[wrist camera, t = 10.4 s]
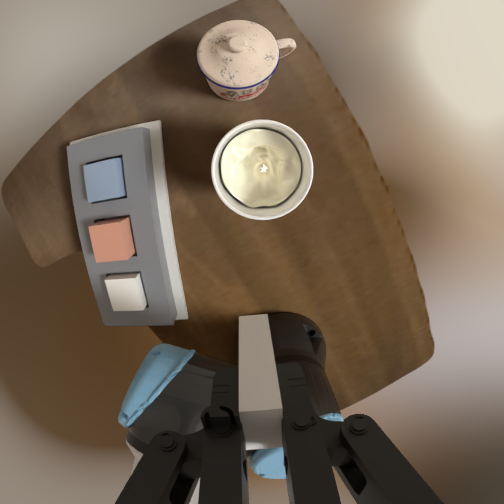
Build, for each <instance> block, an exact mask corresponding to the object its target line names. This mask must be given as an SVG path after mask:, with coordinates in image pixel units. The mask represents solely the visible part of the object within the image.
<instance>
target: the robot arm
mask: <svg viewBox="0 0 504 504" xmlns="http://www.w3.org/2000/svg"><path fill="white" fill-rule="evenodd" d="M236 358H237V364H238V365H236V364H233V363H229V362H226V361H222V360H219V359H216V358H212V357H209V356H206V355H203V354H200V353H196V350H193V349H191V350H188V349H184V348H181V347H177V346H174V345H170V344H166V343H162V344H158V345H156V346H154V347H153V348H152V349H151V350H150V351H149V353H148V354H147V355H146V357H145V359H144V361H143V362H142V364H141V366H140V368H139V369H138V371H137V373H136V375H135V377H134V379H133V381H132V383H131V386H130V388H129V390H128V392H127V394H126V397H125V399H124V401H123V404H122V408H121V411H120V414H119V416H118V421H119V423H120V424H121V425H123V427H125V428H129V431H128V435H127V439H126V443H127V445H128V447H129V448H130V450H131V451H132V453H133V454H134V456H135V461H134V465H133V469H132V473H131V476H130V478H129V480H128V482H127V483H126V485H125V487H124V489H123V490H122V492H121V494H120V496H119V497H118V499H117V501H116V503H115V504H249V492H248V467H247V459H250V466H251V467H252V470H253V472H255V473H256V474H258V475H259V476H262V477H264V478H271V479H282V478H286V480H287V487H288V496H289V503H290V504H341V502H340V497H339V493H338V490H337V485H336V481H335V477H334V474H333V470H332V466H334V468H335V469H336V471H337V473H338V474H339V476H340V477H341V479H342V481H343V482H344V484H345V485H346V487H347V488H348V490H349V491H350V493H351V495H352V496H353V498H354V499H355V501H356V503H357V504H444V503H443V502H442V501H441V500H440V499H439V498H438V496H437V495H436V494H435V493H434V492H433V491H432V489H431V488H430V487H429V486H428V484H427V483H426V482H425V481H424V480H423V479H422V477H421V476H420V475H419V474H418V473H417V471H416V470H415V469H414V468H413V467H412V465H411V464H410V463H409V462H408V461H407V459H406V458H405V457H404V456H403V455H402V454H401V452H400V451H399V450H398V449H397V448H396V446H395V445H394V444H393V443H392V442H391V440H390V439H389V438H388V437H387V436H386V434H385V433H384V432H383V431H382V430H381V428H380V427H379V426H378V425H377V423H376V422H375V421H374V420H373V419H372V418H371V417H369V416H367V415H364V414H354V415H350V416H349V417H347V418H346V419H344V421H343V417H342V415H341V413H340V410H339V407H338V405H337V402H336V399H335V397H334V394H333V392H332V389H331V386H330V384H329V381H328V379H327V376H326V373H325V371H324V369H325V360H326V343H325V340H324V337H323V335H322V332H321V330H320V329H319V327H318V326H317V325H316V324H315V323H314V322H313V321H312V320H310V319H309V318H307V317H305V316H302V315H299V314H295V313H275V314H271V315H267V314H260V315H248V316H239V340H238V343H237V350H236Z"/></svg>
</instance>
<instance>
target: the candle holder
mask: <svg viewBox="0 0 504 504" xmlns="http://www.w3.org/2000/svg"><path fill="white" fill-rule="evenodd" d="M211 176H212V181H213V185H214V188H215V190H216V192H217V194H218V196H219V197H220V199H221V200H222V201H223V202H224V204H225V205H226V206H227V207H229V208H230V209H231V210H232V211H234V212H236V213H237V214H239V215H241V216H244V217H247V218H250V219H256V220H269V219H274V218H278V217H281V216H283V215H285V214H287V213H289V212H291V211H292V210H293V209H295V208H296V207H297V206H298V205H299V204H300V203H301V202H302V201H303V199H304V198H305V196H306V195H307V193H308V191H309V189H310V186H311V183H312V178H313V161H312V157H311V154H310V151H309V149H308V147H307V145H306V143H305V142H304V140H303V139H302V138H301V137H300V136H299V135H298V134H297V133H296V132H295V131H294V130H292V129H291V128H290V127H288V126H286V125H284V124H282V123H279V122H276V121H272V120H252V121H248V122H245V123H242V124H240V125H238V126H236V127H234V128H233V129H232V130H230V131H229V132H228V133H227V134H226V135H225V136H224V137H223V138H222V139H221V141H220V142H219V144H218V145H217V147H216V149H215V152H214V154H213V158H212V163H211Z"/></svg>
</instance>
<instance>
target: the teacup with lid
mask: <svg viewBox="0 0 504 504" xmlns="http://www.w3.org/2000/svg"><path fill="white" fill-rule="evenodd" d="M295 48H296V43H295V41H294V40H293V39H290V38H284V39H279V40H276V39H275V38H274V36H273V35H272V34H271V33H270V32H269V31H268V30H267V29H266V28H264V27H263V26H261V25H259V24H257V23H254V22H251V21H246V20H232V21H227V22H223V23H221V24H218V25H216V26H215V27H213V28H212V29H210V30H209V31H208V32H207V33H206V34H205V35H204V36H203V38H202V39H201V41H200V43H199V45H198V48H197V53H196V59H197V64H198V67H199V69H200V71H201V72H202V74H203V75H204V76H205V77H206V79H207V82H208V84H209V86H210V87H211V89H212V90H213V91H214V92H215V93H216V94H217V95H218V96H220V97H222V98H224V99H226V100H230V101H246V100H250V99H252V98H254V97H256V96H258V95H259V94H260V93H262V92H263V91H264V89H265V88H266V87H267V85H268V83H269V80H270V78H271V75H272V74H273V73H274V71H275V70H276V68H277V65H278V63H279V59H280V58H282V57H284V56H286V55H288V54H290V53H291V52H292V51H293V50H294V49H295Z"/></svg>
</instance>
